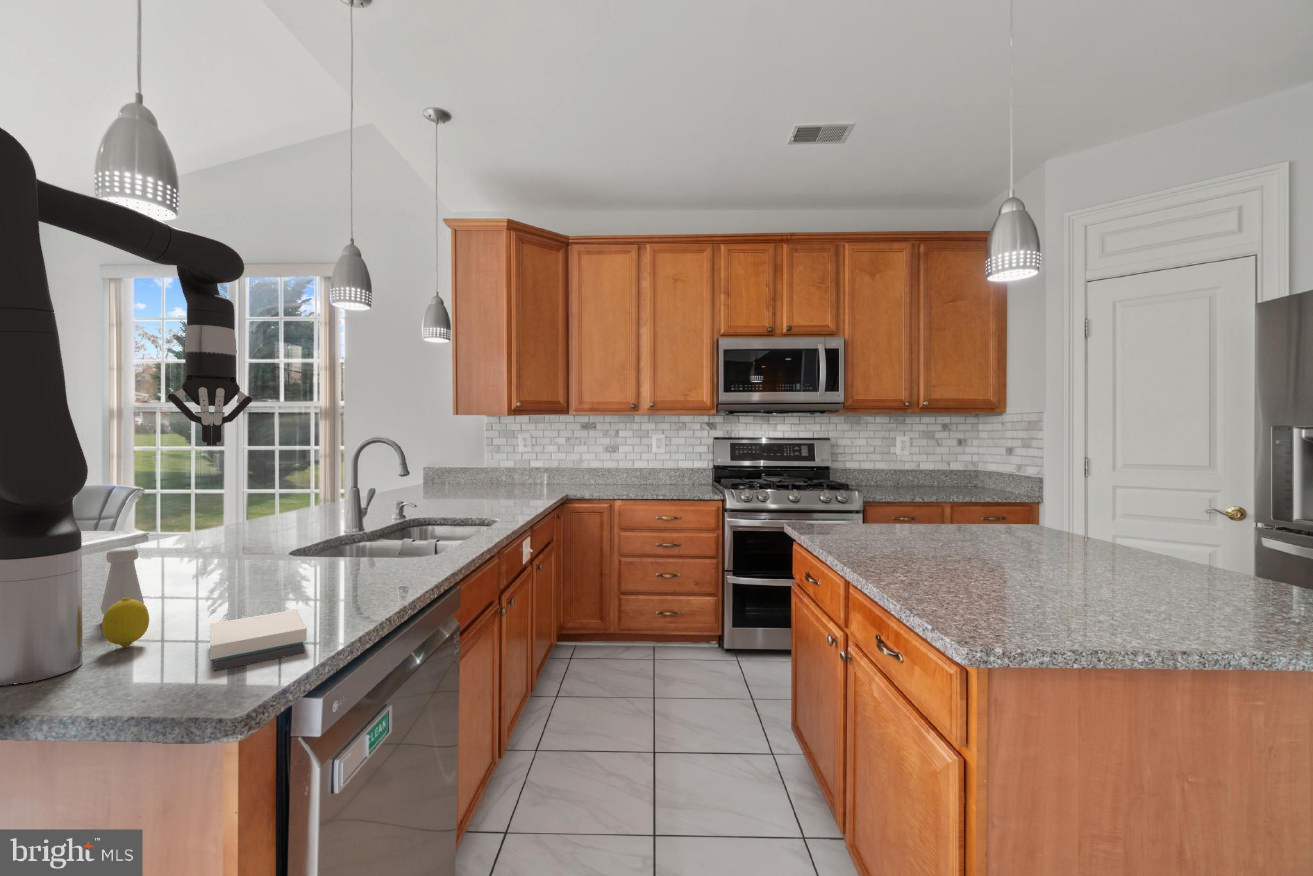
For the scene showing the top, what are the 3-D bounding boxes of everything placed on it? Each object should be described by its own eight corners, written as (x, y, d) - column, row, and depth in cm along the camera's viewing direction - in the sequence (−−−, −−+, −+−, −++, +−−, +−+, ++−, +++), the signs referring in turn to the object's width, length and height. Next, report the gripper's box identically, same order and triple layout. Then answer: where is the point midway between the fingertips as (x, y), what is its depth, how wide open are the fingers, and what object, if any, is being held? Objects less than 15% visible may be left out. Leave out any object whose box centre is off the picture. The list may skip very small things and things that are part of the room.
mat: (214, 671, 82) (214, 664, 82) (214, 648, 91) (214, 641, 91) (303, 652, 89) (303, 646, 89) (295, 632, 97) (295, 627, 97)
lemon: (120, 655, 87) (120, 603, 87) (92, 652, 89) (92, 601, 88) (158, 642, 93) (158, 593, 93) (131, 639, 94) (131, 591, 94)
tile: (209, 639, 92) (210, 663, 82) (209, 623, 92) (210, 645, 82) (297, 623, 99) (306, 643, 90) (297, 609, 99) (306, 628, 90)
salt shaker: (135, 621, 103) (134, 550, 103) (94, 625, 101) (93, 552, 100) (149, 612, 108) (149, 544, 108) (111, 615, 106) (110, 546, 106)
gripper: (163, 347, 98) (163, 446, 99) (256, 353, 107) (256, 445, 107) (165, 351, 104) (166, 445, 105) (253, 357, 113) (253, 444, 113)
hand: (211, 445), depth 106 cm, fingers closed
